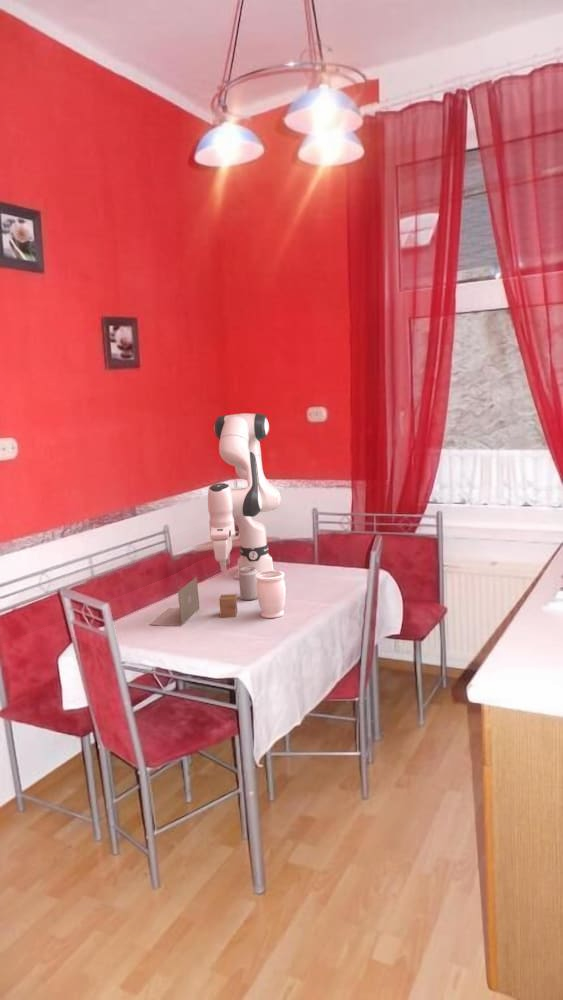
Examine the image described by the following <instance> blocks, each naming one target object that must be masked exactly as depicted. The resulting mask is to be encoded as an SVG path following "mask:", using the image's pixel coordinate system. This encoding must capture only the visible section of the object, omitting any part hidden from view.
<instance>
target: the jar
mask: <svg viewBox="0 0 563 1000" xmlns="http://www.w3.org/2000/svg"><path fill="white" fill-rule="evenodd" d="M284 578H285V572H283V571H280V570H276V571H265V572H261V573H258V574H257V575H256V579H257V597H258V598H257V600H258V605H259V608H260V610H261V611H262V612H261V613H260V616H261V617H263V618H265V619H276V618H280V617H282V616H284V615H285V611H284V608H285V605H286V604H285V603H286V593H287V592H286V583H285V579H284Z"/></svg>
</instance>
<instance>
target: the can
mask: <svg viewBox="0 0 563 1000" xmlns="http://www.w3.org/2000/svg"><path fill="white" fill-rule="evenodd" d="M240 570H241V571H240V572H239V579H238V581H239V583H238V584H239V593H240V594H239V596H240V598H241V599H242V600H243V601H254V600H258V597H257V579H256V575H257V574H258V571H257V570H256V568H255V567H244V568H241V569H240Z"/></svg>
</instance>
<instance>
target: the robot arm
mask: <svg viewBox="0 0 563 1000" xmlns="http://www.w3.org/2000/svg"><path fill="white" fill-rule="evenodd" d="M213 429H214V434H215V437H216V438H217V440H219V444H218V446H219V447H218V450H219V452H218V453H219V456H220V458H221V459H222V460H223V461H224V463H227V464H228V465H230V466H233V467H235V474H236V475H237V477H239V478H240V479H242V480H244V481H246V482H247V487H241V488H234V489H231V487H230V485H229V484H228V483H224V482H222V483H215V484H212V485H211V486H209V487H208V490H207V491H208V492H207V493H208V494H207V508H208V509H207V510H208V513H209V522H208V523H209V524H208V525H209V534H210V540H211V541H212V547H213V554H214V559H215V561H216V562H219V566H220V572H226V571H227V565H230V555H231V553H230V552H231V551H232V549H233V539H232V538H233V537H232V536H233V535H235V534H236V527H235V525H236V526H237V528H238V533H239V539H240V546H239V551H240V556H239V558H237V573H236V574H235V575H234V579H235V580H239V572H240V571H241V570H240V569H241V568H244V567H255V568H256V570H257V571H258V573H261V572H265V571H277V569H276V568H275V566H274V564H273V557H272V556H271V555H270V554H269V551H270V550H269V544H268V542H267V541H268V540H267V529H266V525H264V524H263V523H262V522H260V521H258V520H255V519H253V518H254V517H256V516H257V515H258V514H260V513H267V512H270V511H274V510H276V509H279V507H280V504H281V501H282V496H281V492H280V490H279V489H278V488H277V487H276V486H274V485H272V483H270V482H269V481H268V479H267V478H266V476H265V474H264V470H263V461H262V450H261V442H262V440H264V439H266V437H267V436H268V433H269V431H270V424H269V421H268V417H267V416H266V415H265V414H263V413H257V412H256V413H247V412H246V413H245V412H244V413H242V412H241V413H234V414H229V415H226V414H223V415H220V416H218V417H217V418H216V419H215V420H214V425H213ZM252 517H253V518H252ZM235 523H236V524H235Z"/></svg>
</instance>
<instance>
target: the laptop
mask: <svg viewBox="0 0 563 1000" xmlns="http://www.w3.org/2000/svg"><path fill="white" fill-rule="evenodd" d="M177 595H178V605H179V607H169V608H167V609H166V610H165V611H163V612H162V613H161V614H160V615H158V617H156V618H155V619H154V620H152V621H151V622H150V623H149V626H150V625H151V626H163V627H183V626H184V625H185V624H186V623H187V622H188V621H189V620H190V619H191V618H192V617H194V616H195V615H196V614H197V613H198V612H199V611H200V601H199V600H200V599H199V588H198V577H197V576H196V577H195V578H193V579H192V580H191V581H190V582H189V581H188V583H187V584H186V585H184V586H183V587H182V588H181V589H179V590H178V591H177Z"/></svg>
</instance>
